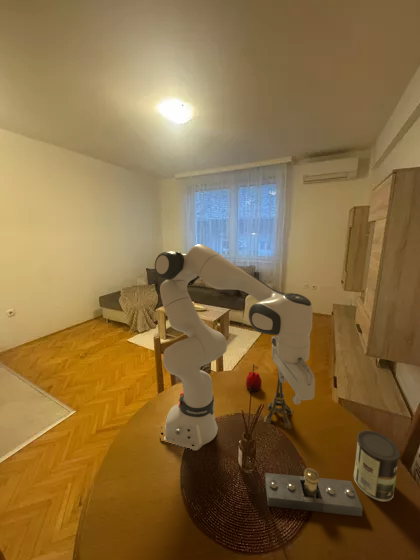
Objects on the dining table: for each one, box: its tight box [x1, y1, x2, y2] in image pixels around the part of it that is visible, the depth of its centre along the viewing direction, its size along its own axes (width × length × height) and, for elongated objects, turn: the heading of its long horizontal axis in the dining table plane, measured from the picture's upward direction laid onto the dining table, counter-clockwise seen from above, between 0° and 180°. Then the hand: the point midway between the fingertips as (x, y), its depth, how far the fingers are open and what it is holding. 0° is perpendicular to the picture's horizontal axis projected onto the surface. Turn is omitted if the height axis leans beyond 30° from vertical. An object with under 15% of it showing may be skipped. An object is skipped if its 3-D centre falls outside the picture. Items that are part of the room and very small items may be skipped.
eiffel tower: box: [263, 371, 293, 430], centre depth 97 cm, size 11×11×25 cm
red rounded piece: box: [245, 363, 262, 392], centre depth 116 cm, size 8×7×15 cm
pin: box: [303, 467, 320, 498], centre depth 68 cm, size 4×4×8 cm
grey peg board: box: [264, 472, 364, 517], centre depth 69 cm, size 25×7×4 cm, turn 83°
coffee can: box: [353, 429, 401, 502], centre depth 71 cm, size 10×10×14 cm
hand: (289, 391), depth 72 cm, fingers open, 8 cm apart
